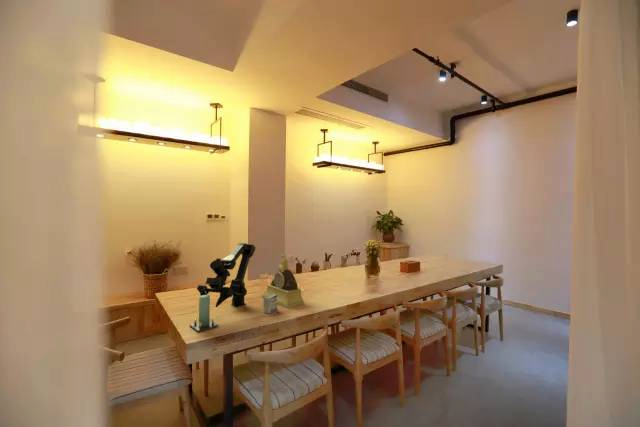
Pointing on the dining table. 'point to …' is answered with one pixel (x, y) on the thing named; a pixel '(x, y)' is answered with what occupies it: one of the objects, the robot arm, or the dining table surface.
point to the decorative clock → (285, 287)
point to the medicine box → (270, 303)
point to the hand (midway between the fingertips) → (208, 305)
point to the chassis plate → (199, 328)
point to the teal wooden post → (204, 310)
